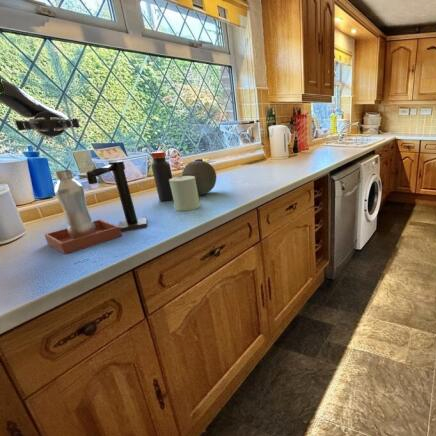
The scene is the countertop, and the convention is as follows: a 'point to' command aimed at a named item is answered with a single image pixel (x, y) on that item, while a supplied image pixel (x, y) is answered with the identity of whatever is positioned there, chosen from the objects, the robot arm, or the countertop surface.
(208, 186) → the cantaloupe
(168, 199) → the vinegar
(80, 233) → the plastic bottle
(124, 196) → the faucet base
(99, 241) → the reddish brown tray
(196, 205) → the can
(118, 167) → the spout
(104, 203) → the countertop surface
